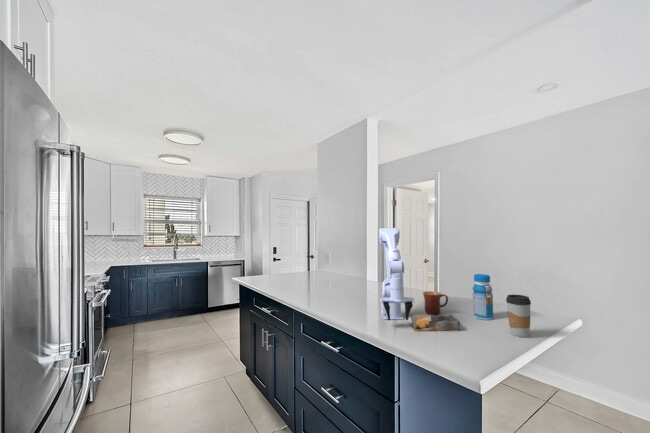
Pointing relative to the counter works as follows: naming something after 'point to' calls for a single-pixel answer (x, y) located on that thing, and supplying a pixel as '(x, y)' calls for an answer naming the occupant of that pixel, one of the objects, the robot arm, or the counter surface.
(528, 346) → the counter surface
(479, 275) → the beverage bottle
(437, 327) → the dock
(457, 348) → the counter surface
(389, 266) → the robot arm
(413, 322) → the orange block with knobs
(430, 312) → the mug
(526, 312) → the coffee cup
